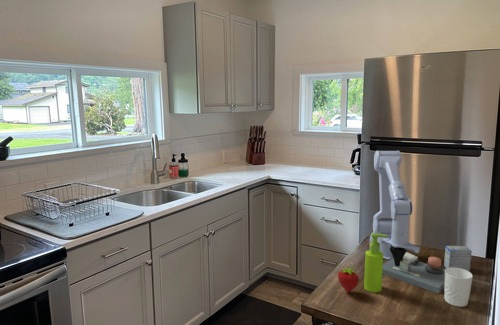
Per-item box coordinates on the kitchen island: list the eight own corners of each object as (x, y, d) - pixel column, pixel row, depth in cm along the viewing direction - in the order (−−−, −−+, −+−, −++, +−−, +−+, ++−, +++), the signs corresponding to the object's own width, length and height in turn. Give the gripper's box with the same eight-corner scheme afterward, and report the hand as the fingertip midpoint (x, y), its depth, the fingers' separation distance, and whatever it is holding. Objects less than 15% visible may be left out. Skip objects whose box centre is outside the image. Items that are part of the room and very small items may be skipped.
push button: (426, 265, 141) (426, 259, 140) (430, 261, 144) (431, 255, 143) (438, 269, 138) (438, 262, 137) (442, 265, 141) (443, 259, 140)
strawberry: (352, 299, 126) (353, 271, 124) (333, 291, 131) (334, 264, 130) (362, 293, 130) (363, 266, 128) (343, 285, 135) (344, 259, 133)
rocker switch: (400, 257, 149) (401, 254, 149) (404, 254, 152) (405, 251, 151) (413, 262, 146) (414, 259, 145) (417, 259, 148) (418, 257, 148)
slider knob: (399, 270, 141) (400, 261, 140) (402, 268, 143) (403, 259, 142) (407, 273, 139) (408, 263, 138) (410, 270, 141) (411, 261, 140)
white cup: (445, 292, 129) (448, 265, 128) (471, 300, 125) (474, 271, 123) (439, 302, 124) (442, 273, 122) (467, 310, 119) (470, 281, 117)
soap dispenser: (385, 293, 129) (388, 237, 126) (364, 291, 131) (367, 236, 127) (383, 285, 135) (386, 231, 132) (363, 283, 136) (365, 230, 133)
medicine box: (464, 266, 148) (466, 245, 147) (469, 272, 144) (472, 250, 143) (443, 266, 149) (445, 245, 148) (448, 271, 145) (450, 249, 143)
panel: (377, 272, 145) (378, 264, 144) (397, 259, 156) (397, 252, 155) (438, 293, 129) (438, 285, 128) (454, 277, 140) (455, 269, 139)
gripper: (376, 228, 143) (374, 262, 145) (414, 239, 132) (412, 275, 135) (385, 224, 147) (383, 257, 150) (423, 233, 137) (420, 268, 140)
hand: (397, 265), depth 143 cm, fingers closed
